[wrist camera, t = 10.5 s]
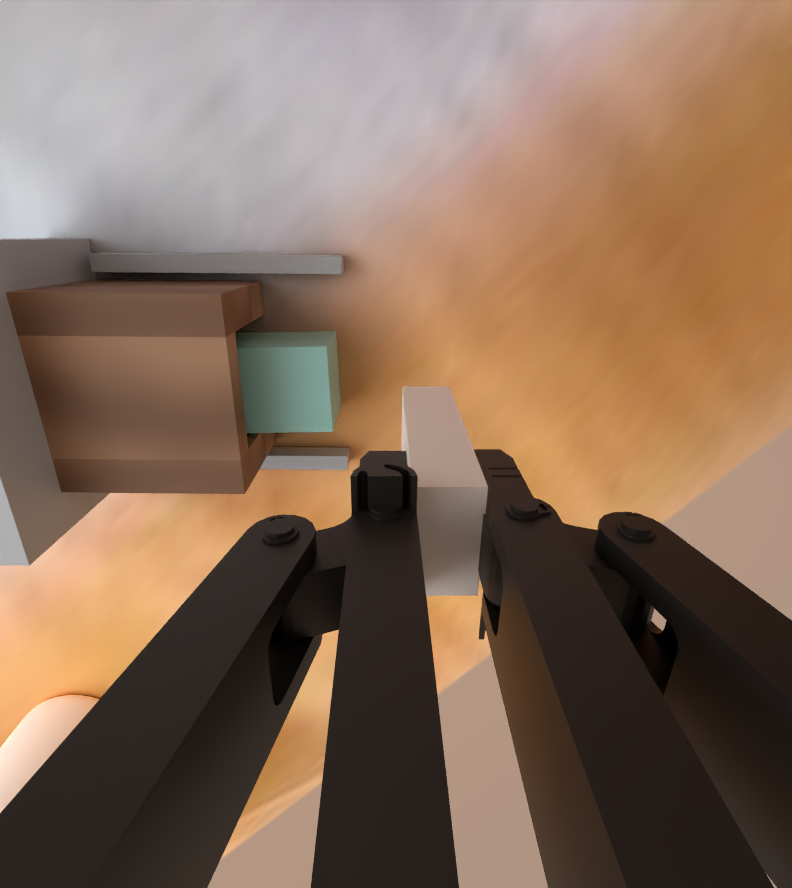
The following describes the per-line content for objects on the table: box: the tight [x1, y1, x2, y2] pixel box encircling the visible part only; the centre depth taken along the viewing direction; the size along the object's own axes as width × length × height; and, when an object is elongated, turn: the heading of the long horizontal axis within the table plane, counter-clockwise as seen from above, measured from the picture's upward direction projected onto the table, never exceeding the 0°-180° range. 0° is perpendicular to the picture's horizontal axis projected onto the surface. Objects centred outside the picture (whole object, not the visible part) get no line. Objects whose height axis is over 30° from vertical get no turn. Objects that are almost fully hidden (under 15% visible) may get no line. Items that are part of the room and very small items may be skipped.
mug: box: [0, 695, 99, 813], centre depth 32 cm, size 12×8×10 cm
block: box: [6, 279, 276, 494], centre depth 23 cm, size 8×8×6 cm
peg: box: [235, 331, 341, 433], centre depth 25 cm, size 4×10×4 cm, turn 91°
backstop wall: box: [0, 238, 350, 565], centre depth 22 cm, size 12×14×9 cm
